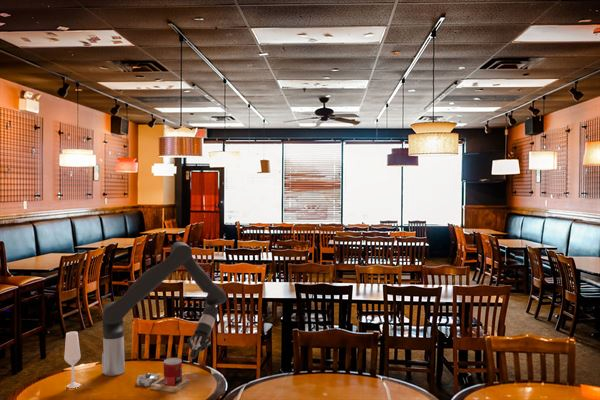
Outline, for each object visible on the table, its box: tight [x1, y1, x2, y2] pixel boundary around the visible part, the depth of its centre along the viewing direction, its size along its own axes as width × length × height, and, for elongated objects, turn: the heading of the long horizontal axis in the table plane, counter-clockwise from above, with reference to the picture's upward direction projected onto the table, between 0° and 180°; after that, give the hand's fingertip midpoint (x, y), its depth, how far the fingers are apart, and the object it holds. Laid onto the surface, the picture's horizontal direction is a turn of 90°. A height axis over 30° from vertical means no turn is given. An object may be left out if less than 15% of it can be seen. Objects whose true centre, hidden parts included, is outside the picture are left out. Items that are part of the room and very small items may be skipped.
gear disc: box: [136, 372, 160, 388], centre depth 243 cm, size 10×10×4 cm
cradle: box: [149, 376, 190, 393], centre depth 238 cm, size 13×10×2 cm
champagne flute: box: [63, 330, 82, 389], centre depth 238 cm, size 7×7×24 cm
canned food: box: [163, 357, 183, 387], centre depth 239 cm, size 8×8×11 cm
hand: (192, 358), depth 255 cm, fingers closed
